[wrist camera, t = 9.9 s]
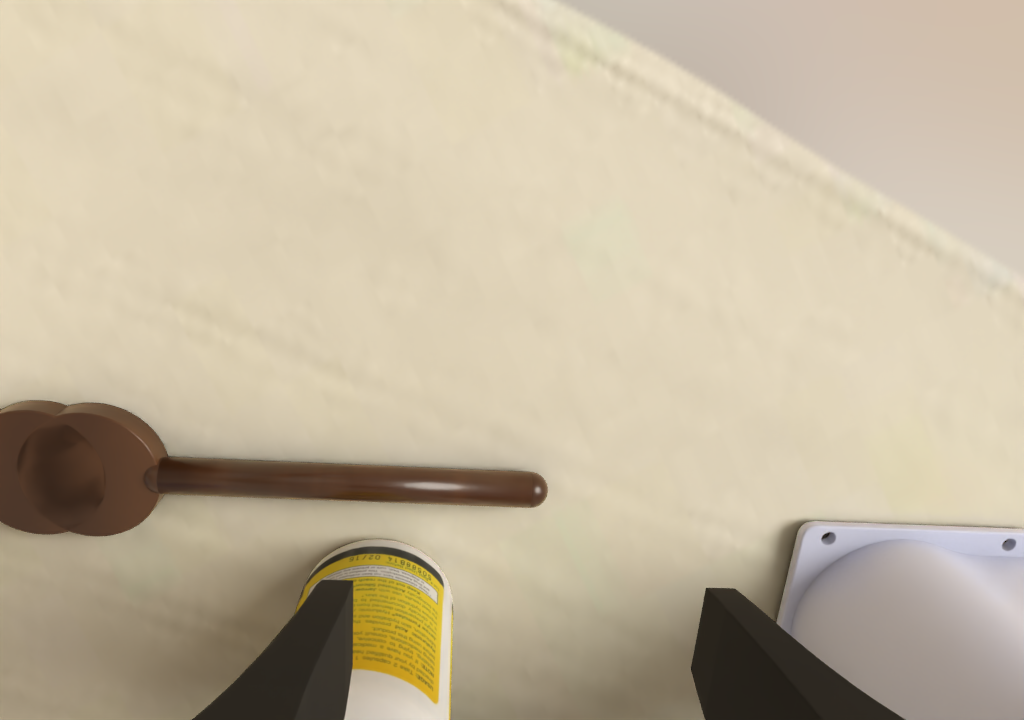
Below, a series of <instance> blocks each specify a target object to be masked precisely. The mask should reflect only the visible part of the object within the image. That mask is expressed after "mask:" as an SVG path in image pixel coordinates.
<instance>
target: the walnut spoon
mask: <svg viewBox="0 0 1024 720" xmlns="http://www.w3.org/2000/svg"><path fill="white" fill-rule="evenodd" d="M547 493H548V487H547V483H546V481H545V480H544V478H543V477H542V476H541V475H539V474H537V473H534V472H519V471H495V470H471V469H447V468H424V467H400V466H376V465H352V464H328V463H304V462H280V461H256V460H232V459H208V458H184V457H168V455H167V451H166V449H165V447H164V445H163V443H162V441H161V440H160V438H159V437H158V435H157V434H156V433H155V432H154V430H153V429H152V428H151V427H150V426H149V425H147V424H146V423H145V422H144V421H143V420H141V419H140V418H139V417H137V416H135V415H134V414H132V413H130V412H128V411H126V410H124V409H121V408H118V407H115V406H111V405H107V404H100V403H81V404H74V405H71V406H67V405H64V404H61V403H56V402H51V401H25V402H20V403H16V404H13V405H10V406H8V407H5V408H4V409H2V410H0V522H2V523H4V524H6V525H8V526H10V527H12V528H15V529H18V530H21V531H24V532H29V533H34V534H59V533H64V532H68V531H70V532H73V533H77V534H81V535H87V536H108V535H114V534H118V533H122V532H125V531H127V530H130V529H132V528H134V527H135V526H137V525H139V524H140V523H141V522H143V521H144V520H145V519H146V518H147V517H148V516H149V515H150V513H151V512H152V511H153V510H154V508H155V507H156V506H157V504H158V503H159V502H160V500H161V499H162V498H163V496H164V494H173V495H199V496H226V497H253V498H280V499H307V500H334V501H361V502H388V503H415V504H442V505H469V506H496V507H522V508H533V507H537V506H539V505H540V504H542V503H543V501H544V500H545V499H546V497H547Z"/></svg>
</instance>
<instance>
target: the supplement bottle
mask: <svg viewBox="0 0 1024 720" xmlns="http://www.w3.org/2000/svg"><path fill="white" fill-rule="evenodd" d="M321 580H353V667H352V674H351V681H350V687H349V694H348V700H347V707H346V713H345V718H344V720H450V711H451V674H452V636H453V599H452V593H451V589H450V585H449V583H448V580H447V578H446V576H445V575H444V573H443V571H442V570H441V569H440V567H439V566H438V565H437V564H436V563H435V562H434V561H433V560H432V559H431V558H430V557H429V556H427V555H426V554H425V553H423V552H422V551H420V550H418V549H416V548H415V547H413V546H410V545H408V544H405V543H402V542H398V541H393V540H385V539H370V540H362V541H358V542H354V543H351V544H348V545H345V546H343V547H341V548H339V549H337V550H335V551H333V552H332V553H330V554H329V555H327V556H326V557H325V558H324V559H322V560H321V561H320V562H319V563H318V565H317V566H316V567H315V568H314V569H313V571H312V572H311V573H310V575H309V577H308V579H307V581H306V583H305V585H304V588H303V590H302V593H301V596H300V599H299V602H298V604H297V607H296V611H295V613H296V612H297V611H298V609H299V608H300V607H301V605H302V604H303V603H304V601H305V600H306V599H307V597H308V596H309V594H310V593H311V592H312V590H313V589H314V587H315V586H316V584H318V583H319V582H320V581H321Z"/></svg>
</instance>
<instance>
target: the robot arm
mask: <svg viewBox="0 0 1024 720" xmlns="http://www.w3.org/2000/svg"><path fill="white" fill-rule="evenodd" d="M829 532H830V534H829V536H828V537H827V538H824V539H821V538H822V536H823V535H824V534H826V533H829ZM1007 539H1008V540H1007ZM1006 540H1007V541H1006ZM1004 541H1006V543H1004V544H1003V542H1004ZM352 667H353V580H321V581H320V582H319V583H318V584H316V586H315V587H314V589H313V590H312V592H311V593H310V594H309V596H308V597H307V599H306V600H305V601H304V603H303V604H302V605H301V607H300V608H299V609H298V611H297V612H296V613H295V614H294V616H293V617H292V618H291V620H290V621H289V622H288V623H287V625H286V626H285V627H284V628H283V629H282V630H281V632H280V633H279V634H278V635H277V636H276V638H275V639H274V640H273V641H272V642H271V643H270V645H269V646H268V647H267V648H266V649H265V650H264V651H263V653H262V654H261V655H260V656H259V657H258V658H257V659H256V660H255V661H254V662H253V663H252V664H251V665H250V666H249V667H248V668H247V669H246V670H245V671H244V672H243V673H242V675H241V676H240V677H239V678H238V679H237V680H236V681H235V682H234V683H233V684H232V685H230V686H229V687H228V688H227V689H226V690H225V691H224V692H223V693H222V694H221V695H220V696H219V697H218V698H217V699H215V700H214V701H213V702H212V703H211V704H210V705H209V706H207V707H206V708H205V709H204V710H203V711H202V712H201V713H199V714H198V715H197V716H196V717H195V718H193V719H192V720H344V718H345V713H346V707H347V700H348V694H349V687H350V681H351V674H352ZM691 671H692V674H693V678H694V682H695V686H696V690H697V693H698V697H699V700H700V704H701V707H702V711H703V714H704V717H705V720H1024V529H1019V528H992V527H965V526H937V525H910V524H883V523H856V522H829V521H810V522H807V523H805V524H803V525H802V526H801V527H800V529H799V531H798V533H797V538H796V542H795V546H794V550H793V554H792V559H791V563H790V567H789V571H788V575H787V580H786V584H785V588H784V592H783V597H782V601H781V605H780V609H779V613H778V618H777V622H776V623H775V622H774V621H773V620H772V619H771V618H770V617H768V616H767V615H766V614H765V613H764V612H763V611H761V610H760V609H759V608H758V607H757V606H756V605H754V604H753V603H752V602H751V601H750V600H748V599H747V598H746V597H745V596H744V595H742V594H741V593H740V592H738V591H737V590H736V589H730V588H706V591H705V596H704V602H703V607H702V612H701V618H700V623H699V629H698V634H697V639H696V645H695V650H694V655H693V661H692V666H691Z"/></svg>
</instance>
